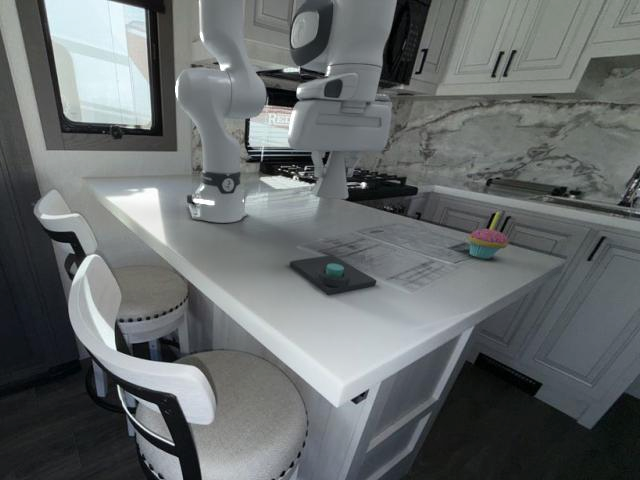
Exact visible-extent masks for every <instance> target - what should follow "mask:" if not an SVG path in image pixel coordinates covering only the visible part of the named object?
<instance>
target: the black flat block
mask: <svg viewBox="0 0 640 480" xmlns="http://www.w3.org/2000/svg"><path fill="white" fill-rule="evenodd" d="M328 264H339V265H341V266H343V267H344V270H343V274H342V277H339V278H337V277H331V276H328V275H326V269H327V265H328ZM289 267H290V268H291V269H292V270H294V271H295V272H297V273H298V274H299V275H300V276H301V277H303V278H304V279H305V280H307V281H308V282H310V283H311V284H313V285H314V286H315V287H317V288H318V289H319V290H320V291H322V292H323V293H324V294H326V295H327V296H333V295H338V294H343V293H348V292H353V291H357V290H361V289H362V290H363V289H367V288H372V287H376V285H377V281H378V280H377V279H375V278H374V277H372V276H370V275H368V274H367V273H365V272H363V271H361V270H360V269H358V268H356V267H354V266H353V265H351V264H349V263H348V262H346V261H344V260H342V259H340V258H339V257H337V256H335V255H334V254H331V255H324V256H322V255H321V256H316V257H308V258H302V259H295V260H290V262H289Z"/></svg>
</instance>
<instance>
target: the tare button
mask: <svg viewBox="0 0 640 480" xmlns="http://www.w3.org/2000/svg"><path fill="white" fill-rule="evenodd" d="M343 270H344V267H343V266H341V265H339V264H328V265H327V269H326V275H328V276H331V277H337V278H339V277H342V274H343Z"/></svg>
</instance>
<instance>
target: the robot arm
mask: <svg viewBox="0 0 640 480" xmlns="http://www.w3.org/2000/svg"><path fill="white" fill-rule="evenodd" d="M397 2H398V0H306V1H304V2H303V4H301V5H300V6H299V8H298V9H297V11H296V12H295V14H294V16H293V18H292V21H291V24H290V28H289V34H288V35H289V36H288V37H289V38H288V49H289V53H290V57H291V60H292V62H293V63H294V64H295V66H298V67H300V68H301V69H304V70H308V71H314V72H318V73H321V74H324V75H323V76H320V77H317V78H315V79H313V80H309V81H306V82H303V83H300V84H299V85H297V89H296V98H297V99H298V100H299V101H297V102H296V103H295V104H294V106H293V109H292V112H291V115H290V120H289V126H288V134H287V135H288V136H287V143H288V145H289V147H290V149H292V150H296V151H297V150H298V151H311V156H310V157H311V160H312V163H313V166H314V171H313V176H314V178H317V179H319V178H324V177H325V176H326V172H327V168H326V167H325V165H324V162H323V158H325V156H326V152H327V151H328V152H331V151H345V152H348V157H349V159H348V161H347V162H346V164H345V171H346V178H352V177H353V175H354V173H355V168H356V167H357V165H358V164H359V162H360V161H361V160H362V157H363V154H364V152H372V153H373V152H377V153H378V152H379V153H380V152H383V150H384V149H385V148H386V146H387V144H388V140H389V135H390V128H391V121H392V110H393V102H392V101H391V98H390V96H389V95H388V94H387V93H377V92H378V87H379V83H380V78H381V75H382V70H383V65H384V58H383V57H384V56H383V55H384V49H385V47H386V44H387V41H388V39H389V36H390V34H391V31H392V27H393V22H394V17H395V12H396V7H397ZM198 19H199V36H200V41H201V43H202V45H203V47H204V48H205V49H206V50H207V51H208V52H209V53H210V54H211V55H213V57H214V58H215V59H216V61H217V63H218V65H219V69H218V68H211V67H202V66H199V67H190V68H184V69H183V70H182V71H181V72H180V74H179V76H178V77H177V79H176V83H175V96H176V100H177V103H178V105H179V107H180V109H181V111H183V112H184V113H185V114H186V115H187V116H188V117H189V119H190V120H191V121H192V122H193V123H194V125H195V127H196V129H197V131H198V134H199V137H200V141H201V147H202V170H201V175H200V182H201V183H200V185H198V187H197V189H196V190H195V193H193V194H187V195H186V203H187V204H189V205H188V209H189V212H190V215H191V218H192V219H193V220H198V221H204V222H210V223H217V224H218V223H219V224H220V223H221V224H224V223H225V224H226V223H227V224H228V223H235V222H239V221H241V220H242V219H243V218H244V217H246V216H247V215H248V212H247V211H245V209H244V206H245V205H244V201H245V200H244V190H243V189H242V187H241V186H240V185H241V180H242V176H241V175H242V173H241V171H240V169H241V168H240V166H241V145H240V144H241V143H240V141H239V140H238V139H237V137H236V136H234V135H233V134H231V133H230V132H229V131H228V130H227V129H226V126H225V119H230V120H246V119H247V120H248V119H253V118H256V117H259V116H260V115H261V113H262V112H263V111H264V109H265V106H266V102H267V88H266V85H265V83H264V81H263V80H262V78H261V77H260V76H259V75H258V74H257V72H256V71H255V69H254V67H253V64H252V63H251V60H250V57H249V55H248V51H247V46H246V40H245V28H244V27H245V25H244V23H245V22H244V0H198Z"/></svg>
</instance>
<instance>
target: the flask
mask: <svg viewBox="0 0 640 480" xmlns="http://www.w3.org/2000/svg"><path fill="white" fill-rule="evenodd" d="M345 166H346V151H329V154H328V157H327V160H326V163H325V165H324V167H326V168H327V172H326V176H325V177H324V178H317V181H316V183H315V185H314V187H313V189H312V191H311V193H310V194H311V195H312V196H314V197H317V198H322V199H327V200H346V199H348V198H349V197H350V196H349V190H348V181H347V177H346V171H345Z"/></svg>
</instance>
